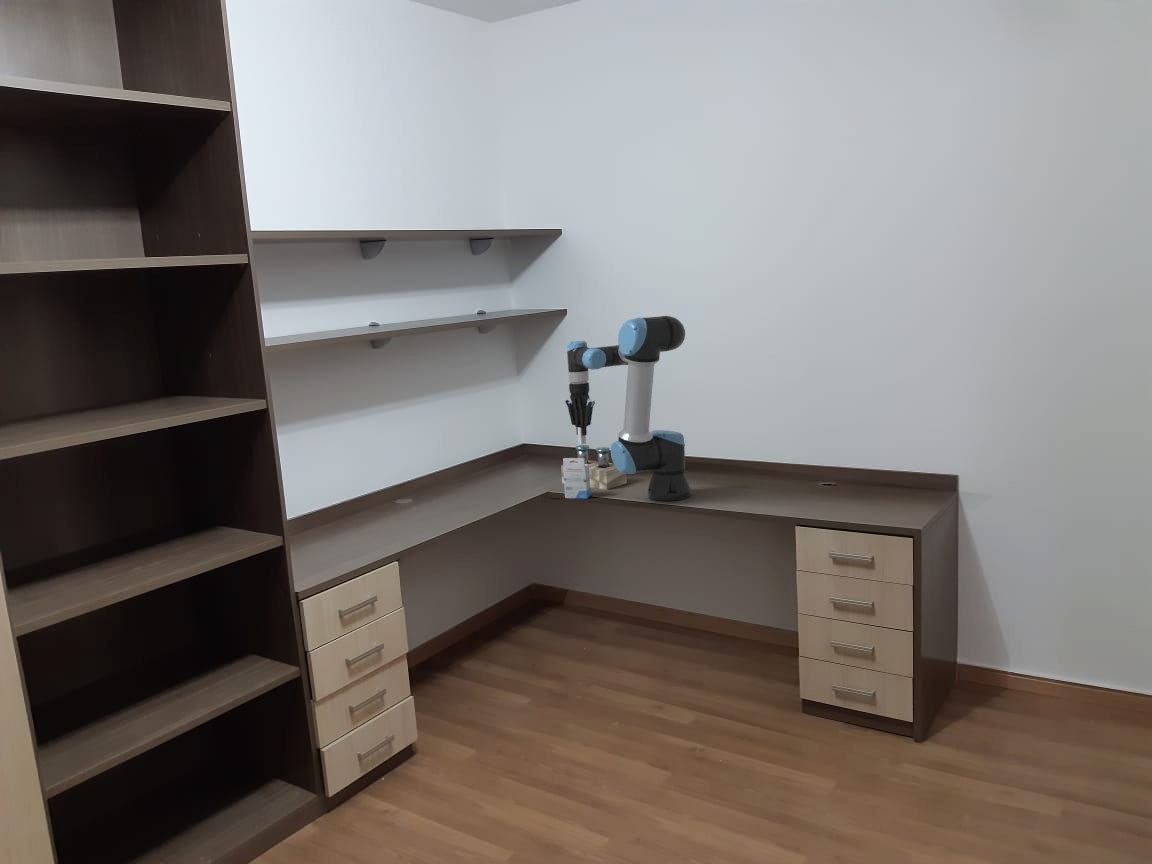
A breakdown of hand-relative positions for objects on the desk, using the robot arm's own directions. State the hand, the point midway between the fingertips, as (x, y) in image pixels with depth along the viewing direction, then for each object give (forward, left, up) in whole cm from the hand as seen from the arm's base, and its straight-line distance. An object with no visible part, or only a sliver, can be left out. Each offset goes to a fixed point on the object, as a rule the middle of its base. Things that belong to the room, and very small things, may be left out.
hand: (582, 443), depth 346 cm
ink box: (-13, +19, -15) cm, 28 cm away
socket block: (-5, 0, -15) cm, 16 cm away
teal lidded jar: (0, 0, -9) cm, 9 cm away
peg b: (-10, 0, -9) cm, 13 cm away
